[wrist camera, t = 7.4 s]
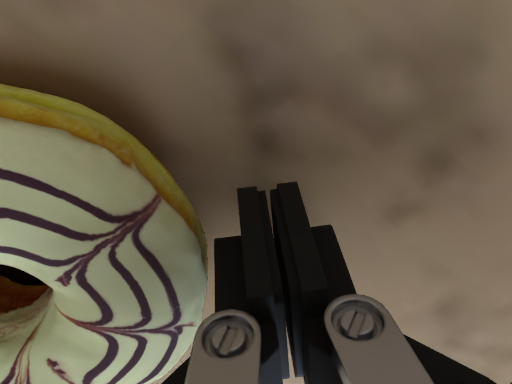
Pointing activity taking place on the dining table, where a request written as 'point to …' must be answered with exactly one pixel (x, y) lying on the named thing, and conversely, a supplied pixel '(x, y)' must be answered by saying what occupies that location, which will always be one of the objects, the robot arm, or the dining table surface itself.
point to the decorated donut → (91, 249)
